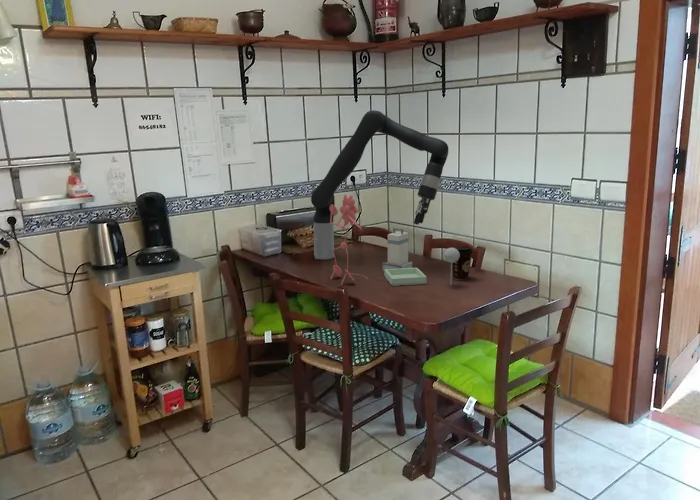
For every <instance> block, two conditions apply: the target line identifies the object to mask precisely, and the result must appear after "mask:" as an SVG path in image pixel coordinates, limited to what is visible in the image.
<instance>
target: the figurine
mask: <svg viewBox="0 0 700 500" xmlns="http://www.w3.org/2000/svg"><path fill="white" fill-rule="evenodd" d="M355 203H356V201H355V199H354V198H353V195H351V194H350V195H349V197H348V195H347V193H345V194H344V195H343V200H342V206H340V207H339V211H338V209H337V207H336V206H334V205H333V204H332V205H330V207H329V210H330V212H331V218H330V224H333V225H336V226H337V227H339V229H340V231H341V232H343V231H345V235H344V241H343V242H340V246H339V247H336V248H334V250H333V253H334V258H333V259H334V262H335V264H334V265H333V266H332V270H333V271H332V274H331V277H330V280H332V279H333V277H334V276H335V275H334V274H336V275H337V276H338V277H340V276H341V275H342V274H343V273H342V272H343V271H342V269H341V267H340V266H339V265H337V260H336V255H335V251H336V250H337V249H340V248H341V250H342V249H344V250H345V251H346V269H344V271H345V272H344V276H343V279H342V281H341V283H340V285H341V286H343V283H344V281H345V279H346V277H347V275H348V276H349V278H350V279H351V280H352V281H353V282H354V283H355V284H357V281H356V280H355V278H354V277H353V276H352V275H357V276H359V274H358V273H352V272H349V253H348V243H346V240H347V235H348V232H349V231H348V229H346V227H345V226H348V225H349V224H350V226H351V227H353V225H355V226H356V227H357V228H358V229H359V230H360V231H363V229H362V227H361V226H360V225H359V224H358V223H357V221H356V219H357V217H356V214H357V213H358V211H359V209H358V207H357V206H356V205H355ZM338 212H340V213H341V217H340V218H339V220H338V222H333V223H331V222H332V214H333V215H334V217H336V215H338ZM342 219H343V221H344V222H343V223H344V224H343V226H342V225H340V223H341V220H342ZM360 276H361V277H365V278H366V279H367V280H369V279H368V277H367V276H366V275H361V274H360Z"/></svg>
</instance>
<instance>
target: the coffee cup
mask: <svg viewBox="0 0 700 500" xmlns="http://www.w3.org/2000/svg"><path fill="white" fill-rule="evenodd" d="M452 248H455V249H457V250H458V251H459V253H460V257H459V259H458V260H457V261H456V262H454V263H452V280H453V279H454V280H456V281H466V280H469V275H470V269H471V262H472V254H473V250H472V249H471V247H470V246H468V245H455V246H453V247H452Z"/></svg>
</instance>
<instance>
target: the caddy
mask: <svg viewBox="0 0 700 500" xmlns="http://www.w3.org/2000/svg"><path fill="white" fill-rule="evenodd" d="M387 262H388V263H389V264H395V265H401V266H402V265H404V264H406V263H409V232H406V231H404V229H403V228H396V227H393V229H392V232H391V233H389V234H387Z"/></svg>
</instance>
